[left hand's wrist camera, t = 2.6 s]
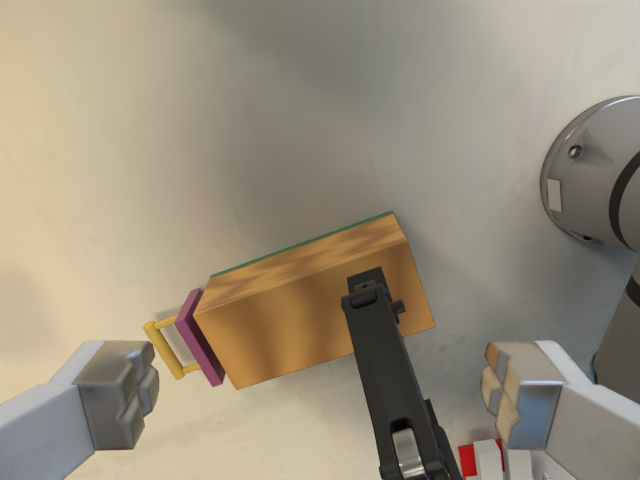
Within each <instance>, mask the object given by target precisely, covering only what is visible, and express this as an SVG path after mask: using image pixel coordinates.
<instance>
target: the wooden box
mask: <svg viewBox="0 0 640 480" xmlns="http://www.w3.org/2000/svg"><path fill="white" fill-rule="evenodd" d="M379 266H381V268H382V271H383V273H384V276H385V279H386V282H387V285H388V288H389V291H390V294H391V297H392V300H393V302H394V301H397V300H400V299H402V300H403V303H404V306H405V309H406V312H403V313H400V314H397V315H398V318H399V321H400V323H399V324H398V327H399V330H400V333H401V336H402V337H405V336H408V335H411V334H415V333H418V332H421V331H424V330H427V329H430V328H433V327H435V323H434V320H433V317H432V314H431V311H430V308H429V305H428V302H427V299H426V296H425V293H424V290H423V287H422V284H421V281H420V278H419V275H418V272H417V268H416V265H415V262H414V259H413V256H412V253H411V250H410V247H409V244H408V241H407V239H406V237H405V235H404V233H403V231H402V229H401V227H400V226H399V224H398V222H397V220H396V218H395V216H394V214H393V212H392V211H390V212H387V213H384V214H382V215H379V216H376V217H373V218H370V219H368V220H365V221H362V222H359V223H356V224H354V225H351V226H348V227H345V228H342V229H340V230H337V231H334V232H331V233H329V234H326V235H323V236H320V237H317V238H315V239H312V240H309V241H306V242H303V243H301V244H298V245H295V246H292V247H289V248H287V249H284V250H281V251H278V252H276V253H273V254H270V255H267V256H264V257H262V258H259V259H256V260H253V261H250V262H248V263H245V264H242V265H239V266H237V267H234V268H231V269H228V270H225V271H223V272H220V273H217V274H214V275H211V277H210V280H209V282H208V284H207V286H206V288H205V290H204V293H203V295H202V297H201V299H200V301H199V303H198V305H197V307H196V309H195V311H194V313H193V317H194V319H195V320H196V322H197V324H198V325H199V327H200V329H201V331H202V332H203V334H204V336H205V337H206V339H207V341H208V343H209V344H210V346H211V348H212V349H213V351H214V353H215V355H216V356H217V358H218V360H219V361H220V363H221V365H222V367H223V368H224V370H225V372H226V373H227V375H228V377H229V379H230V380H231V382H232V384H233V385H234V387H235V389H236V390H238V389H242V388H245V387H248V386H251V385H254V384H257V383H260V382H264V381H267V380H270V379H273V378H276V377H279V376H282V375H286V374H289V373H292V372H295V371H298V370H301V369H304V368H308V367H311V366H314V365H317V364H320V363H323V362H327V361H330V360H333V359H336V358H339V357H342V356H345V355H349V354H352V353H354V349H353V345H352V341H351V337H350V333H349V329H348V325H347V321H346V317H345V313H344V312H343V311H342V308H341V300H340V299H341V297H343V296H346V295H349V291H348V284H347V277H350V276H353V275H356V274H358V273H361V272H364V271H367V270H370V269H373V268H376V267H379Z"/></svg>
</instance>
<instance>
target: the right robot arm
mask: <svg viewBox="0 0 640 480" xmlns="http://www.w3.org/2000/svg"><path fill="white" fill-rule="evenodd" d="M541 196H542V201H543V204H544V207H545V209H546V211H547V213H548V215H549V216H550V218H551V219H552V220H553V221H554V222H555V223H556V224H557V225H558V226H559V227H560V228H561V229H563V230H564V231H566V232H567V233H569V234H570V235H572V236H573V237H575V238H577V239H580V240H582V241H585V242H589V243H593V244H599V245H606V246H612V247H619V248H626V249H631V250H633V251H634V252H636V253H638V254H639V255H640V95H629V96H621V97H616V98H612V99H609V100H606V101H603V102H601V103H599V104H597V105H595V106H593V107H591V108H589V109H588V110H586V111H585V112H583V113H582V114H580V115H579V116H578V117H576V118H575V119H574V120H573V121H572V122H571V123H570V124H569V125H568V126H567V127H566V128H565V129H564V130H563V131H562V132H561V134H560V135H559V136H558V138H557V139H556V140H555V142H554V143H553V145H552V147H551V149H550V151H549V153H548V155H547V157H546V160H545V163H544V166H543V170H542V175H541ZM347 284H348V291H349V295H346V296H343V297H341V299H340V300H341V308H342V311H343V312H344V313H345V317H346V321H347V325H348V329H349V333H350V337H351V341H352V345H353V349H354V353H355V357H356V361H357V365H358V369H359V373H360V377H361V381H362V385H363V389H364V393H365V397H366V401H367V405H368V409H369V413H370V417H371V421H372V425H373V429H374V434H375V439H376V444H377V450H378V455H379V460H380V467H379V471H380V475H381V478H382V480H465V479H463V478H462V476H461V475H460V472H459V469H458V466H457V463H456V461H455V458H454V455H453V452H452V450H451V447H450V444H449V441H448V438H447V436H446V433H445V431H444V429H443V428H442V427H440V426H439V425H438V422H437V419H436V416H435V413H434V410H433V407H432V404H431V402H430V399H427V400H424V399H423V396H422V393H421V390H420V388H419V385H418V382H417V379H416V376H415V373H414V370H413V367H412V365H411V362H410V359H409V356H408V353H407V350H406V347H405V344H404V342H403V339H402V336H401V333H400V330H399V327H398V324H399V323H400V321H399V318H398V315H397V314H400V313H403V312H406V309H405V306H404V303H403V300H402V299H400V300H397V301H394V302H393V300H392V297H391V294H390V291H389V288H388V285H387V282H386V279H385V276H384V273H383V271H382V268H381V266H379V267H376V268H373V269H370V270H367V271H364V272H361V273H358V274H356V275H353V276H350V277H347ZM588 379H589V380H590V381H591V382H592V383H593V384H594V385H602V386H604V387H606V388H608V389H610V390H612V391H614V392H616V393H618V394H620V395H622V396H624V397H626V398H628V399H630V400H632V401H634V402H635V403H637V404H639V405H640V257H639V259H638V261H637V264H636V266H635V268H634V270H633V273H632V275H631V277H630V280H629V282H628V284H627V286H626V288H625V290H624V293H623V295H622V297H621V300H620V302H619V305H618V307H617V309H616V312H615V314H614V316H613V318H612V321H611V323H610V325H609V327H608V330H607V332H606V334H605V336H604V338H603V341H602V343H601V345H600V347H599V350H598V351H597V352H596V353H595V354H593V356H592V358H591V361H590V371H589V374H588ZM448 473H449V475H450V477H449V475H448Z"/></svg>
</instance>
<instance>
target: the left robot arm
mask: <svg viewBox="0 0 640 480" xmlns="http://www.w3.org/2000/svg"><path fill="white" fill-rule="evenodd" d="M154 357H155V352H154V348H153V344H152V343H150V342H149V341H112V340H109V341H106V340H89V341H86V342H83V343H82V344H81V345H80V346H79V348H78V349H77V350H76V351H75V352H74V353H73V354H72V356H71V357H70V358H69V359H68V360H67V361H66V362H65V364H64V365H63V366H62V367H61V368H60V369H59V370H58V372H57V373H56V374H55V375H54V376H53V377H52V378H51V380H50V381H49V382H48V383H47V384H46V385H38V386H36V387H34V388H32V389H30V390H28V391H26V392H24V393H22V394H20V395H18V396H16V397H14V398H12V399H10V400H8V401H6V402H4V403H2V404H1V405H0V480H63V479H64V478H66V477H67V476H68V475H69V474H70V473H72V472H73V471H74V470H75V469H76V468H77V467H79V466H80V465H81V464H82V463H83V462H84V461H86V460H87V459H88V458H89V457H90V456H92V455H93V454H94V453H95V451H99V450H133V449H134V447H135V445H136V443H137V441H138V439H139V437H140V435H141V433H142V431H143V429H144V427H145V424H144V418H143V417H145V416H146V415H148V414H149V413H150V412H152V411H153V408H154V406H155V404H156V402H157V397H158V393H159V375H158V371H157V370H156V369H155V368H154V367H153V366H152V365H151V363H152V361H153V359H154ZM485 357H486V359H487V361H488V363H489V365H488V366H487V367H486V368H485V369H484V370H483V371H482V376H481V394H482V398H483V401H484V404H485V406H486V408H487V411H488V412H490V413H491V414H492V415H494V416H495V417H497V418H496V424H495V427H496V429H497V431H498V433H499V435H500V437H501V439H502V441H503V443H504V445H505V447H506V449H507V450H541V451H545V453H546V454H548V455H549V456H550V457H551V458H552V459H553V460H555V461H556V462H557V463H558V464H559V465H560V466H562V467H563V468H564V469H565V470H566V471H567V472H569V473H570V474H571V475H572V476H573V477H575V478H576V479H577V480H640V405H639V404H637V403H635V402H634V401H632V400H630V399H628V398H626V397H624V396H622V395H620V394H618V393H616V392H614V391H612V390H610V389H608V388H606V387H604V386H602V385H594V384H593V383H592V382H591V381H590V380H589V379H588V377H587V376H586V375H585V374H584V373H583V372H582V370H581V369H580V368H579V367H578V366H577V365H576V364H575V362H574V361H573V360H572V359H571V358H570V357H569V356H568V354H567V353H566V352H565V351H564V350H563V349H562V348H561V346H560V345H559V344H558V343H557V342H555V341H553V340H539V341H513V342H489V343H488V345H487V347H486V352H485Z"/></svg>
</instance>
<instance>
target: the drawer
mask: <svg viewBox="0 0 640 480" xmlns="http://www.w3.org/2000/svg"><path fill="white" fill-rule="evenodd" d="M202 295H203V293H202V291H201V289H200V288H199V289H197V290H194V291H191V292H190V294H189V296H188V298H187V299H186V301H185V303H184V305H183V307H182V309H181V311H180V312H179V314H178V315H176V316H173V317H170V318H167V319H164V320H161V321H159V322H156V323H155V322H154V321H150V322H148V323H146V324H145V325H144V326H143V329H144V331H145V332H146V334H147V335H148V337H149V338H150V340H151V341H152V343H153V345H154V346H155V348H156V349H157V351H158V352H159V354H160V355H161V357H162V359H163V360H164V362H165V363H166V365H167V366H168V368H169V369H170V371H171V372H172V374H173V376H174V377H175V379H177V380H178V379H181V378H183V377H184V376H185V374H186V373H189V372H192V371H195V370H198V369H202V370H203V372H204V374H205V375H206V377H207V379H208V380H209V382H210V384H211V385H212V387H215V386H218V385H221V384H223V380H224V377H225V373H226V372H225V370H224V368H223V367H222V365H221V363H220V361H219V360H218V358H217V356H216V355H215V353H214V351H213V349H212V348H211V346H210V344H209V343H208V341H207V339H206V337H205V336H204V334H203V332H202V331H201V329H200V327H199V325H198V324H197V322H196V320H195V319H194V317H193V313H194V311H195V309H196V307H197V305H198V303H199V301H200V299H201V297H202ZM171 324H175V326H176V328H177V329H178V331H179V333H180V334H181V336H182V338H183V339H184V341H185V342H186V344H187V346H188V347H189V349H190V351H191V352H192V354H193V356H194V357H195V359H196V361H197V362H198V363H195V364H192V365H189V366H186V367H184V368H183V366H182V365H181V363H180V362H179V360H178V358H177V357H176V355H175V354H174V352H173V350H172V349H171V347H170V346H169V344H168V342H167V341H166V339H165V338H164V336H163V335H162V333H161V331H160V330H159V329H160V328H162V327H165V326H168V325H171Z"/></svg>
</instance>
